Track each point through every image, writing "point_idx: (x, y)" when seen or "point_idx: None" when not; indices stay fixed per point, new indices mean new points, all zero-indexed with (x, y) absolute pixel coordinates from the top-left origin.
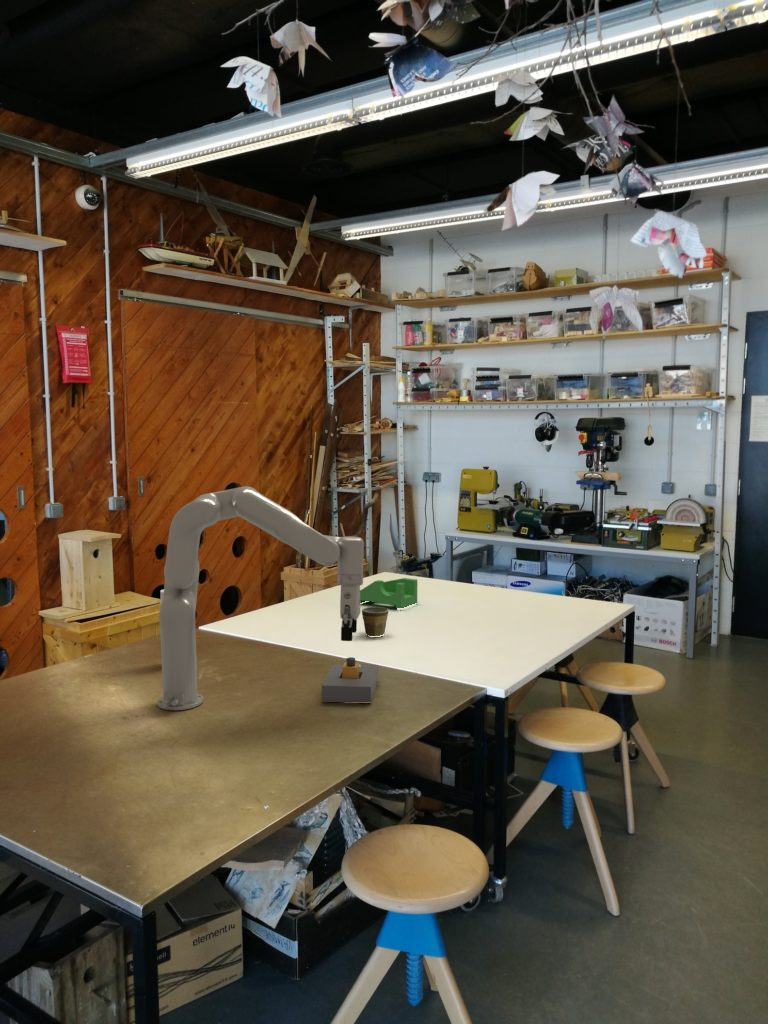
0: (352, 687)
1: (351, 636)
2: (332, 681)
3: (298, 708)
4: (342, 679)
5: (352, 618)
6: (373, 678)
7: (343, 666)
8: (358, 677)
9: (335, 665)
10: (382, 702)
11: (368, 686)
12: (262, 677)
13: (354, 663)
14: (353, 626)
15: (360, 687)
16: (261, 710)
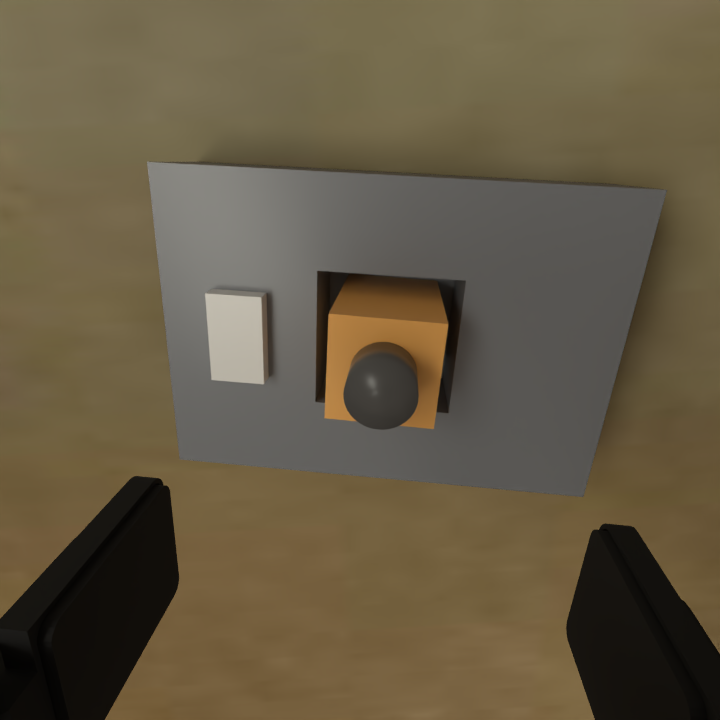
0: (627, 321)
1: (661, 577)
2: (513, 446)
3: None
4: (477, 392)
5: (31, 712)
6: (464, 180)
7: (415, 421)
8: (379, 291)
9: (201, 444)
10: (591, 107)
11: (651, 209)
12: (227, 665)
13: (399, 353)
14: (130, 569)
15: (642, 267)
16: None
